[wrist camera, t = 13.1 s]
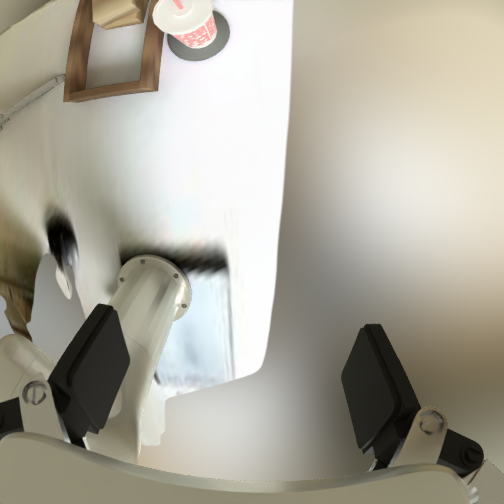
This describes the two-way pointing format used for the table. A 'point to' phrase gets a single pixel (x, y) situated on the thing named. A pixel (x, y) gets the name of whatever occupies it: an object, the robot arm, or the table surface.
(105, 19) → the offcut upper
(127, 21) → the offcut lower
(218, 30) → the coaster
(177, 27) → the beverage cup
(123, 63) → the table surface
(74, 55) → the rack
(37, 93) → the caliper
